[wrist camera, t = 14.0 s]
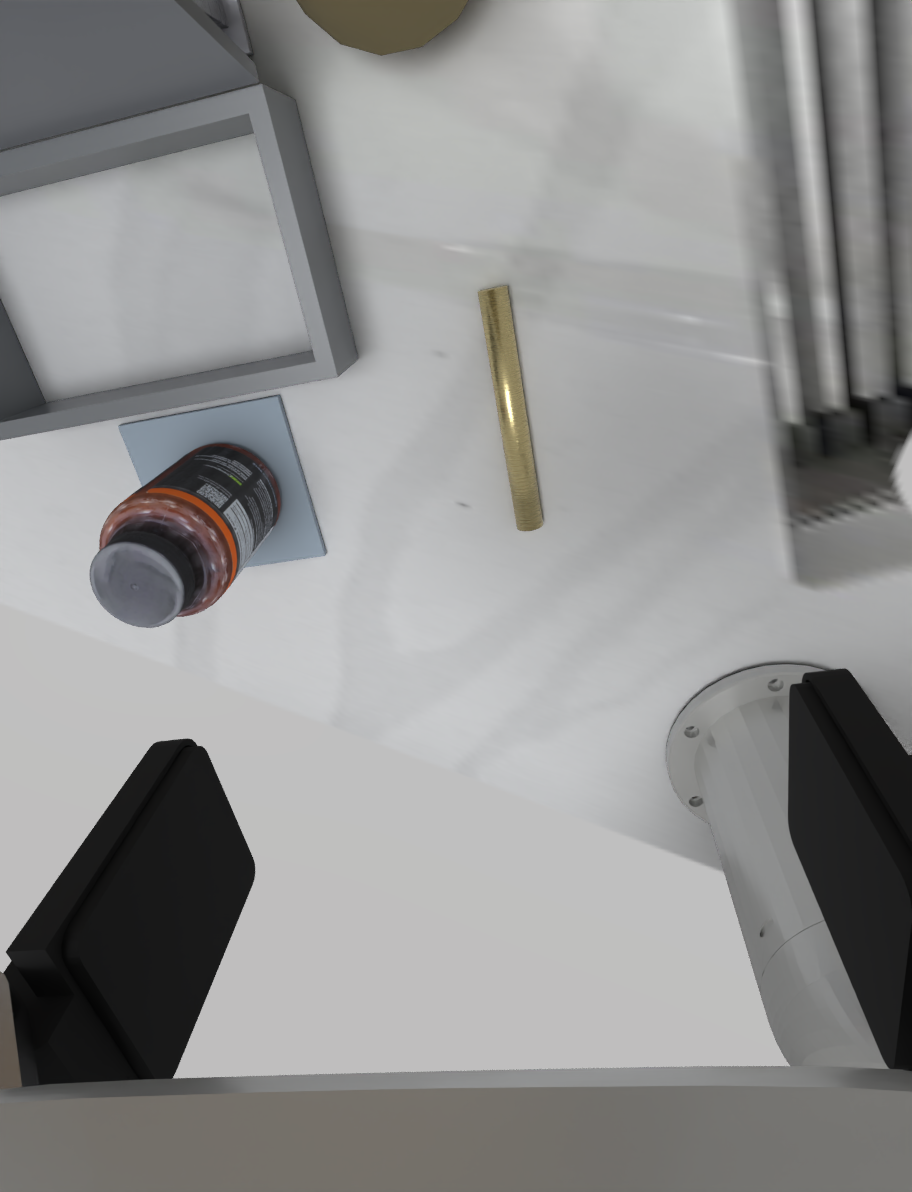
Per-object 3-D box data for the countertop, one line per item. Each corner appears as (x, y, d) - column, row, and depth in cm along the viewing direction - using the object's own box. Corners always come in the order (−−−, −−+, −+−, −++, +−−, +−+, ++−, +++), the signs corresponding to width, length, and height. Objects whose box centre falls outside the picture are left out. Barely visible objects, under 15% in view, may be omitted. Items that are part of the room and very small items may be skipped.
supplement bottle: (179, 534, 42) (69, 636, 32) (175, 431, 39) (52, 508, 29) (283, 551, 41) (205, 659, 31) (286, 449, 39) (202, 532, 29)
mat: (326, 552, 42) (324, 555, 41) (181, 574, 43) (178, 577, 43) (279, 394, 38) (277, 396, 37) (121, 424, 39) (117, 426, 39)
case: (358, 358, 37) (338, 376, 33) (32, 421, 40) (-23, 444, 36) (295, 99, 32) (261, 83, 28) (-71, 193, 35) (-149, 190, 31)
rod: (545, 527, 39) (519, 533, 39) (540, 518, 40) (515, 524, 40) (509, 286, 34) (479, 292, 34) (505, 284, 35) (476, 290, 35)
